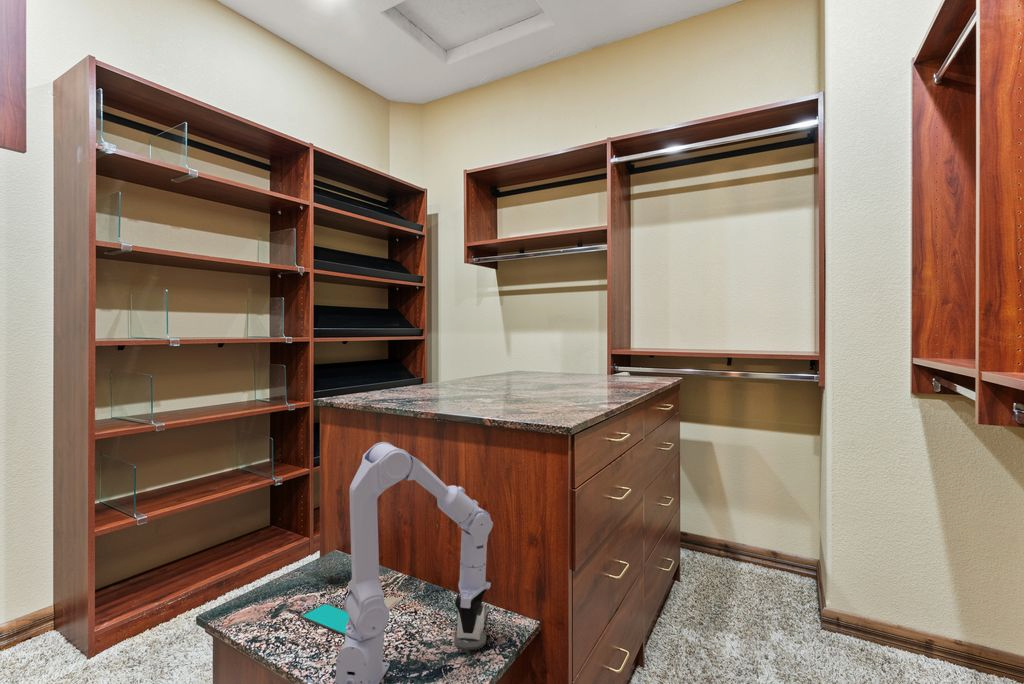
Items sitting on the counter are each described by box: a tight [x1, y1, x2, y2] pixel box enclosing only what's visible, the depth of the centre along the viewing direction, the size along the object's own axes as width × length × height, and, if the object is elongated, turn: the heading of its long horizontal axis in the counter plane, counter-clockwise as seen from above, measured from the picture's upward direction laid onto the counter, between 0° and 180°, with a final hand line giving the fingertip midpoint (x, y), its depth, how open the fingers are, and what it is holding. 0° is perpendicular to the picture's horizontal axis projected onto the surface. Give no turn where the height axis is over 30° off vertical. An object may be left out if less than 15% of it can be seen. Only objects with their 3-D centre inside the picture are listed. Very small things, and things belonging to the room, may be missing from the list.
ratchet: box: [453, 605, 489, 651], centre depth 108 cm, size 16×7×4 cm, turn 174°
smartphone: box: [299, 602, 349, 638], centre depth 110 cm, size 7×1×15 cm
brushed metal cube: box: [456, 603, 485, 640], centre depth 104 cm, size 5×5×5 cm
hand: (470, 625), depth 104 cm, fingers closed on brushed metal cube, 5 cm apart
